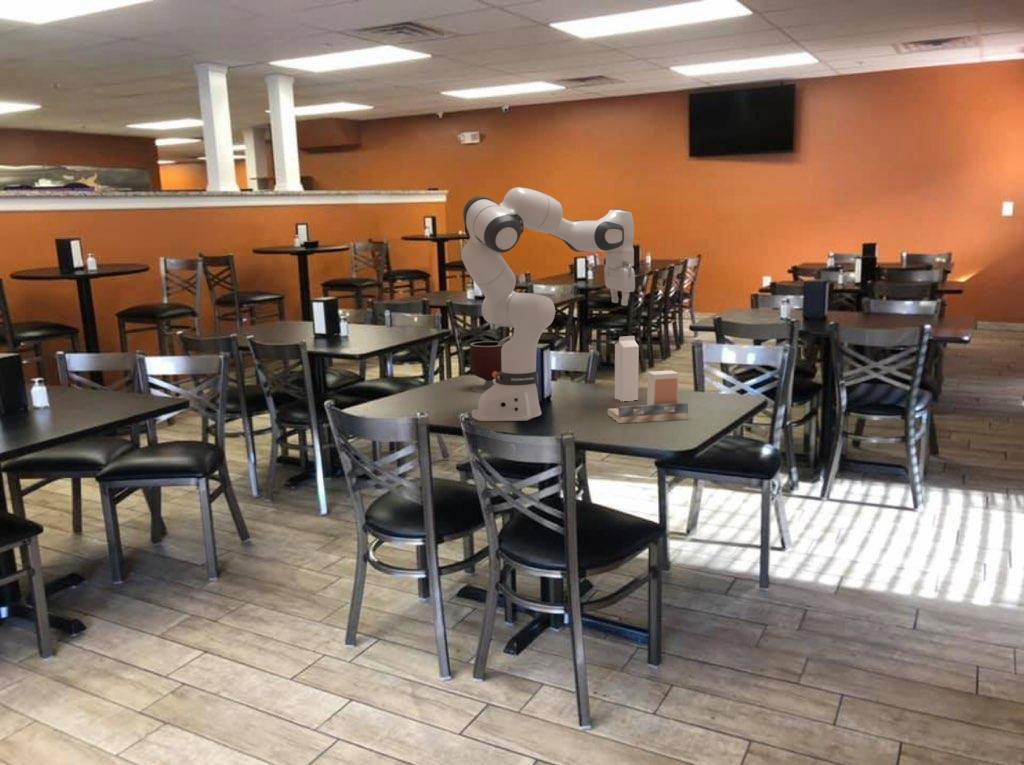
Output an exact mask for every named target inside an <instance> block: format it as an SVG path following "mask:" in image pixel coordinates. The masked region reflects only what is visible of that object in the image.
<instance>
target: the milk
mask: <svg viewBox="0 0 1024 765" xmlns="http://www.w3.org/2000/svg"><path fill="white" fill-rule="evenodd" d="M639 348H640V346H639V344H638V343H637V342H636V337H635V335H627V336H624V335H623V336H619V338H618V342H617V343H615V344H614V399H615V400H617V399H618V400H617V401H619V400H620V401H619V402H622V401H623V402H622V403H625V402H624V401H628V402H635V401H634V400H639V357H640V356H639V355H640V353H639V351H640V349H639Z"/></svg>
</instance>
